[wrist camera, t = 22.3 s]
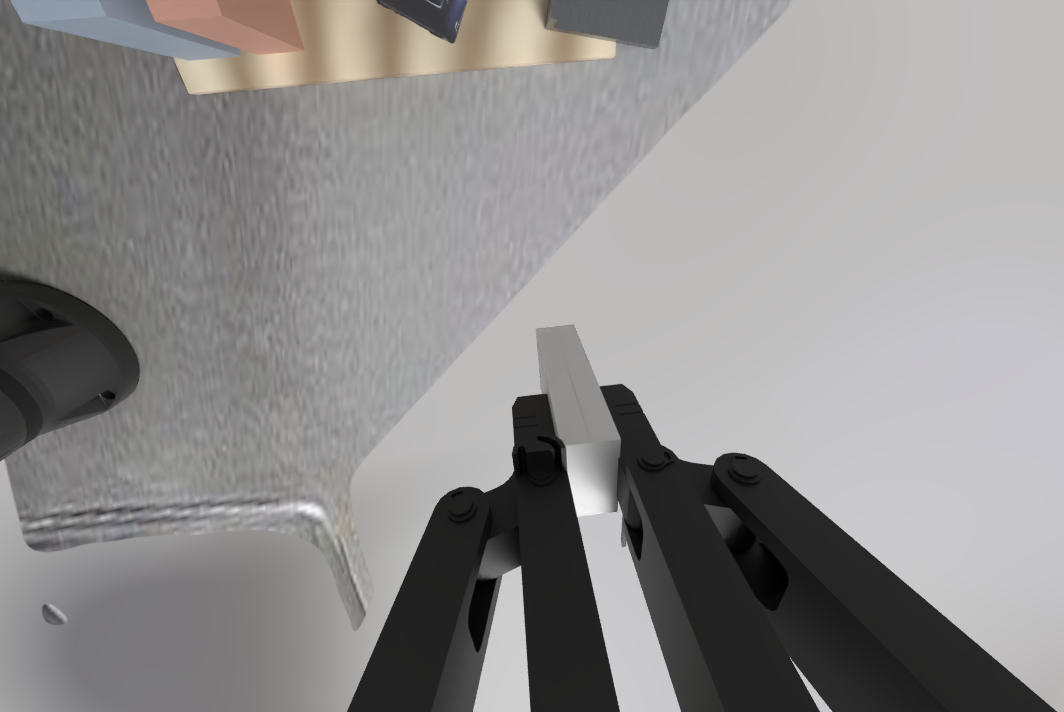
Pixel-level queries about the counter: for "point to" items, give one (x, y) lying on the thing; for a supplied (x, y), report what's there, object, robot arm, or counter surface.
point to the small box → (431, 15)
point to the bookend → (609, 20)
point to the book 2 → (234, 22)
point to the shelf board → (394, 46)
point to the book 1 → (121, 26)
